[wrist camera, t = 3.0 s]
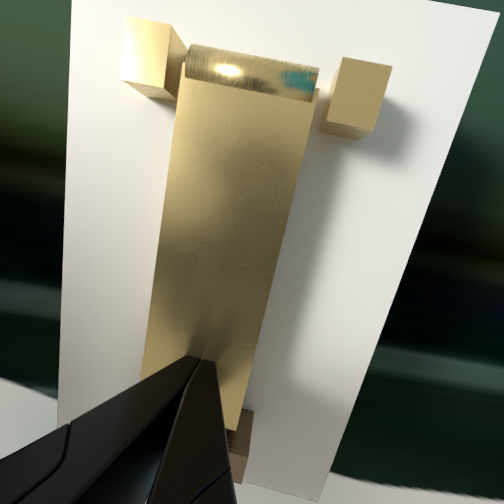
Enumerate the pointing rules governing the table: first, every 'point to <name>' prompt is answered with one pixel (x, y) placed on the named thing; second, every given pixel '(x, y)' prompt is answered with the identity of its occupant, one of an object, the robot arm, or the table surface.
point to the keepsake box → (302, 208)
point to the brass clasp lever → (226, 210)
